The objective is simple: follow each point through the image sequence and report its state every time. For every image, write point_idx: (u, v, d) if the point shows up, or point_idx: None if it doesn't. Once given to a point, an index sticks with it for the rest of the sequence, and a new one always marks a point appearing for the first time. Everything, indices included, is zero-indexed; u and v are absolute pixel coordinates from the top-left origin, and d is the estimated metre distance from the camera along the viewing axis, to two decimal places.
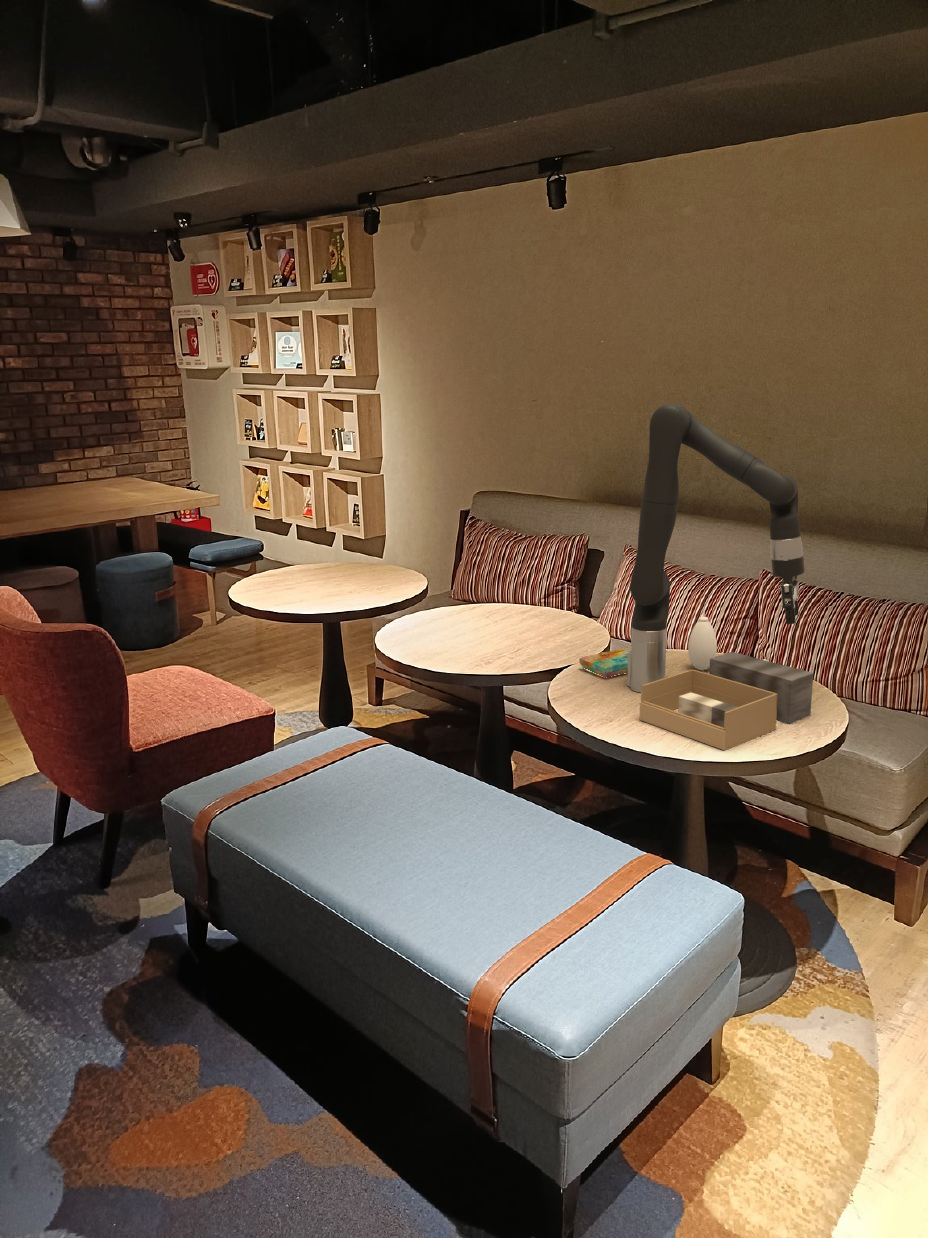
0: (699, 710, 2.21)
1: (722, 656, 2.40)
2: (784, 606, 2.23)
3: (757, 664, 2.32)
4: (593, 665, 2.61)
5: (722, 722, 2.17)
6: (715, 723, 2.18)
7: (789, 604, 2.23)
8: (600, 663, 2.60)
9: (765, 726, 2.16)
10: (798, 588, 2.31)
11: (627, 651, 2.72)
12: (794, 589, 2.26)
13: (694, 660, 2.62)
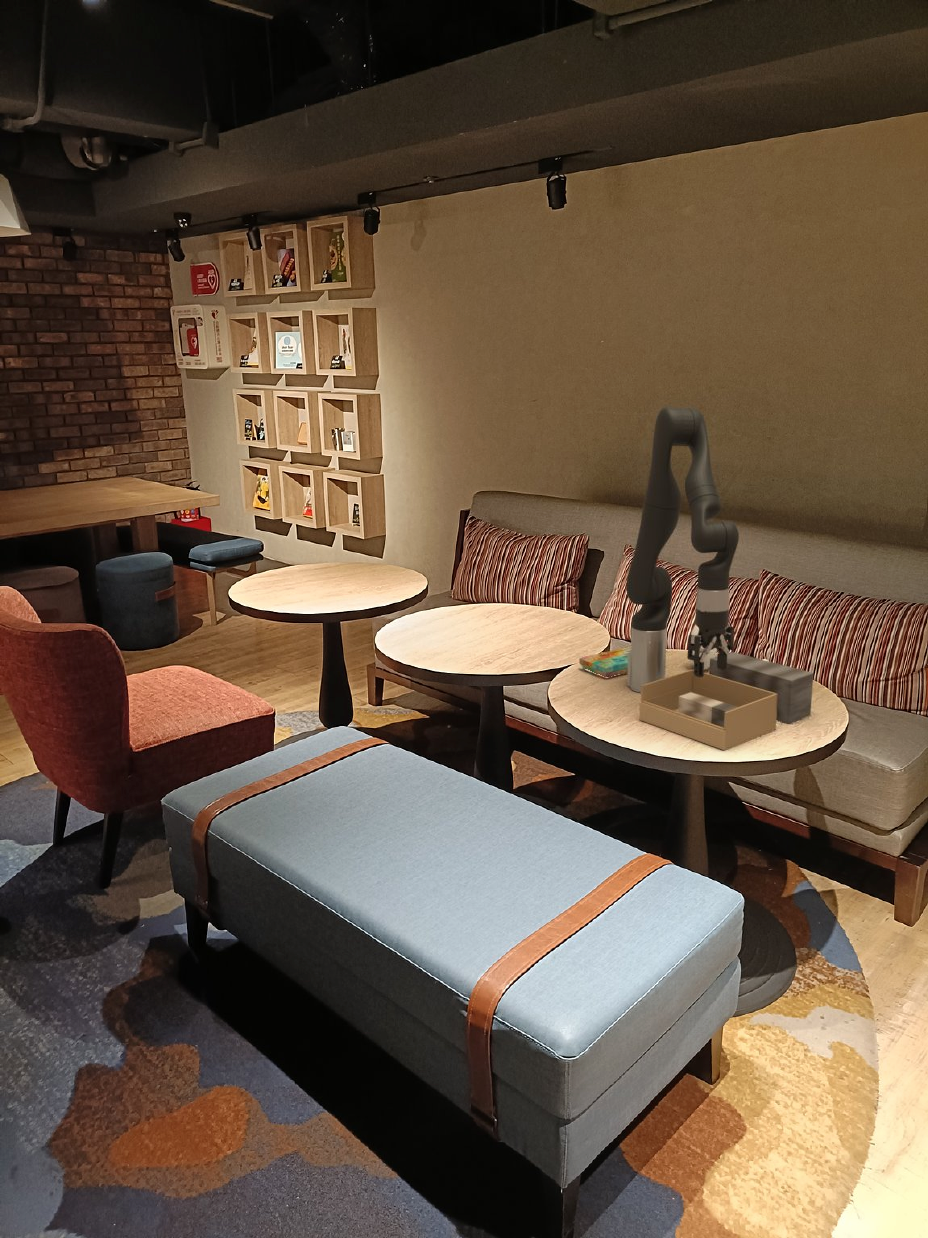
0: (699, 710, 2.21)
1: None
2: (688, 657, 2.15)
3: (757, 664, 2.32)
4: (593, 665, 2.61)
5: (722, 722, 2.17)
6: (715, 723, 2.18)
7: (693, 656, 2.14)
8: (600, 663, 2.60)
9: (765, 726, 2.16)
10: (725, 642, 2.19)
11: (626, 651, 2.72)
12: (708, 642, 2.15)
13: None
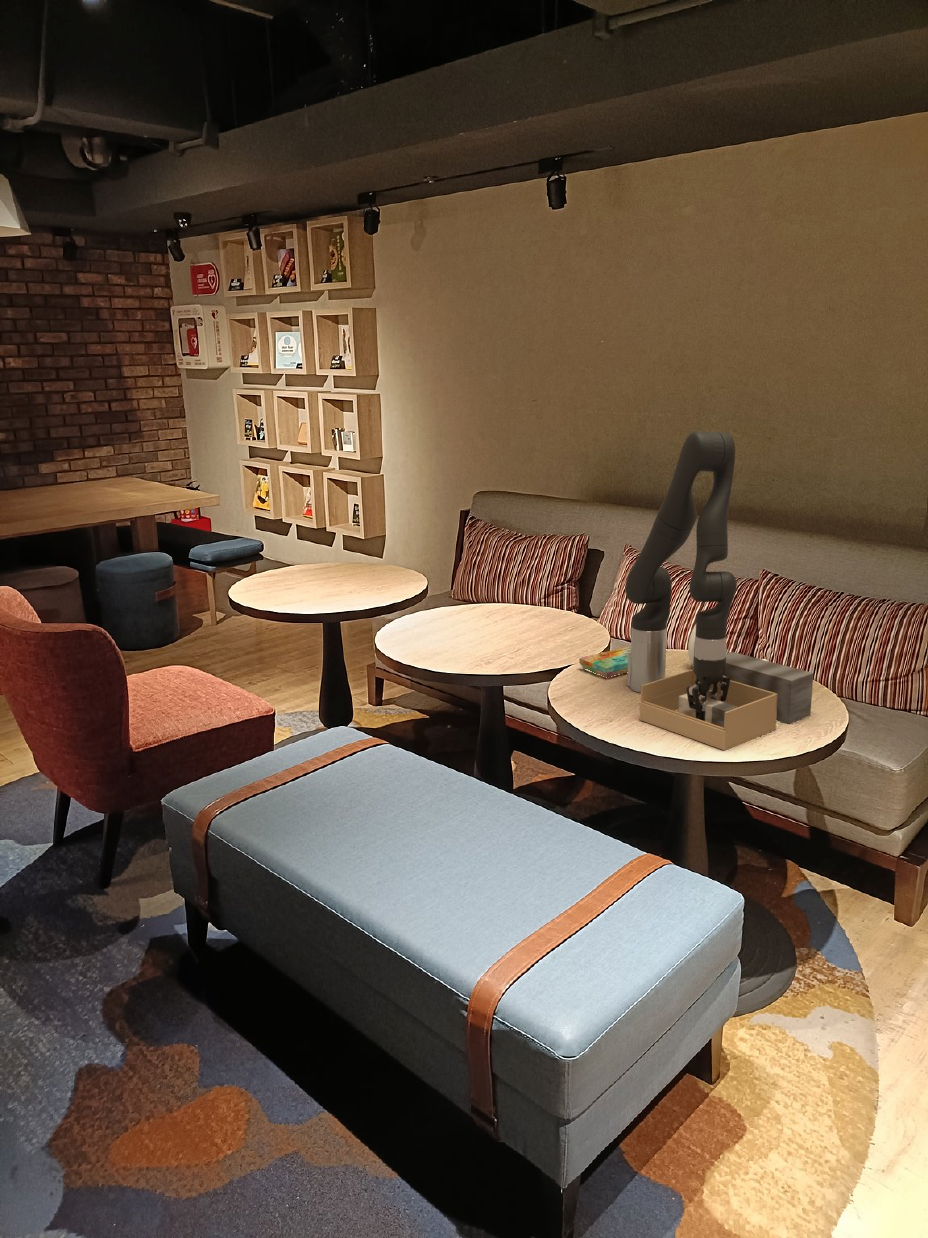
0: None
1: None
2: (690, 707, 2.19)
3: (757, 664, 2.32)
4: (594, 665, 2.61)
5: (722, 722, 2.17)
6: (715, 723, 2.18)
7: (695, 706, 2.19)
8: (601, 663, 2.60)
9: (765, 726, 2.16)
10: (720, 692, 2.21)
11: (626, 651, 2.72)
12: (706, 691, 2.19)
13: None
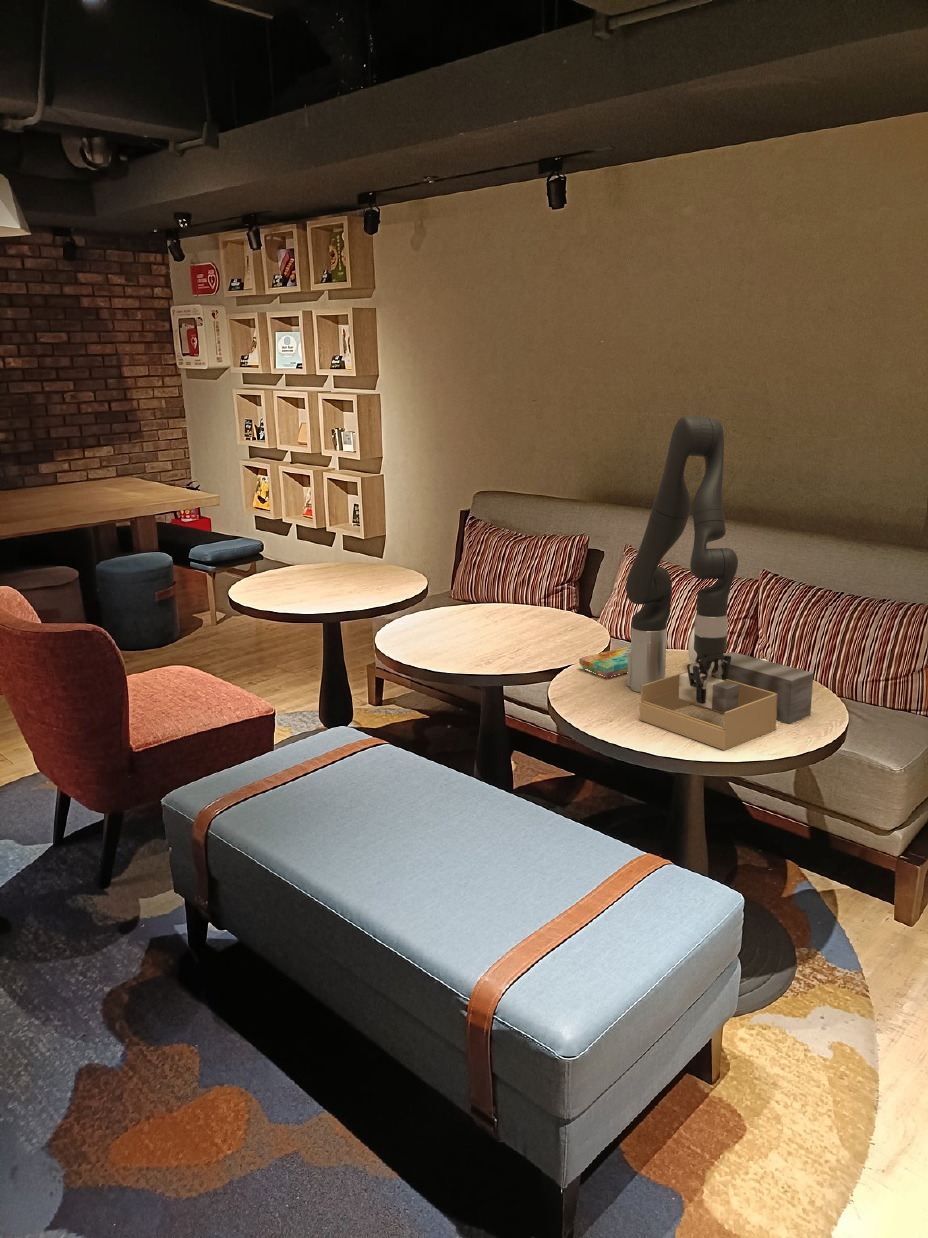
0: None
1: None
2: (691, 685, 2.18)
3: (757, 664, 2.32)
4: (594, 665, 2.61)
5: (723, 700, 2.15)
6: (716, 701, 2.17)
7: (696, 684, 2.17)
8: (601, 663, 2.60)
9: (765, 726, 2.16)
10: (721, 670, 2.20)
11: (625, 651, 2.72)
12: (707, 669, 2.17)
13: (694, 660, 2.62)
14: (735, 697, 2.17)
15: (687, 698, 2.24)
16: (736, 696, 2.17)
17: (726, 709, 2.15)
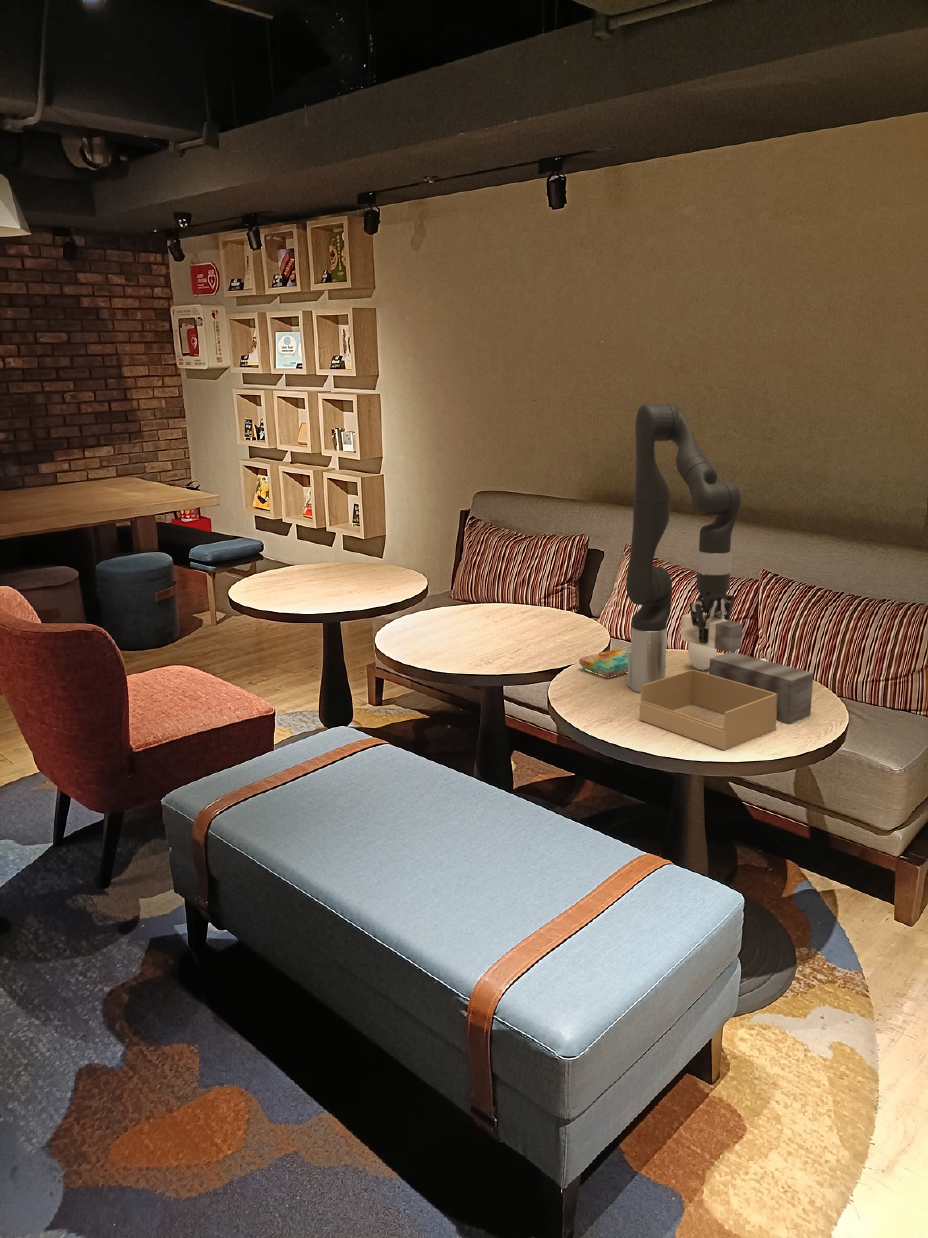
0: None
1: (722, 656, 2.40)
2: (693, 624, 2.14)
3: (757, 664, 2.32)
4: (594, 665, 2.61)
5: (726, 638, 2.11)
6: (719, 640, 2.13)
7: (698, 622, 2.13)
8: (601, 663, 2.60)
9: (765, 726, 2.16)
10: (724, 609, 2.16)
11: (625, 650, 2.72)
12: (710, 608, 2.13)
13: (694, 660, 2.62)
14: (738, 636, 2.13)
15: (689, 639, 2.20)
16: (739, 635, 2.13)
17: (729, 648, 2.11)
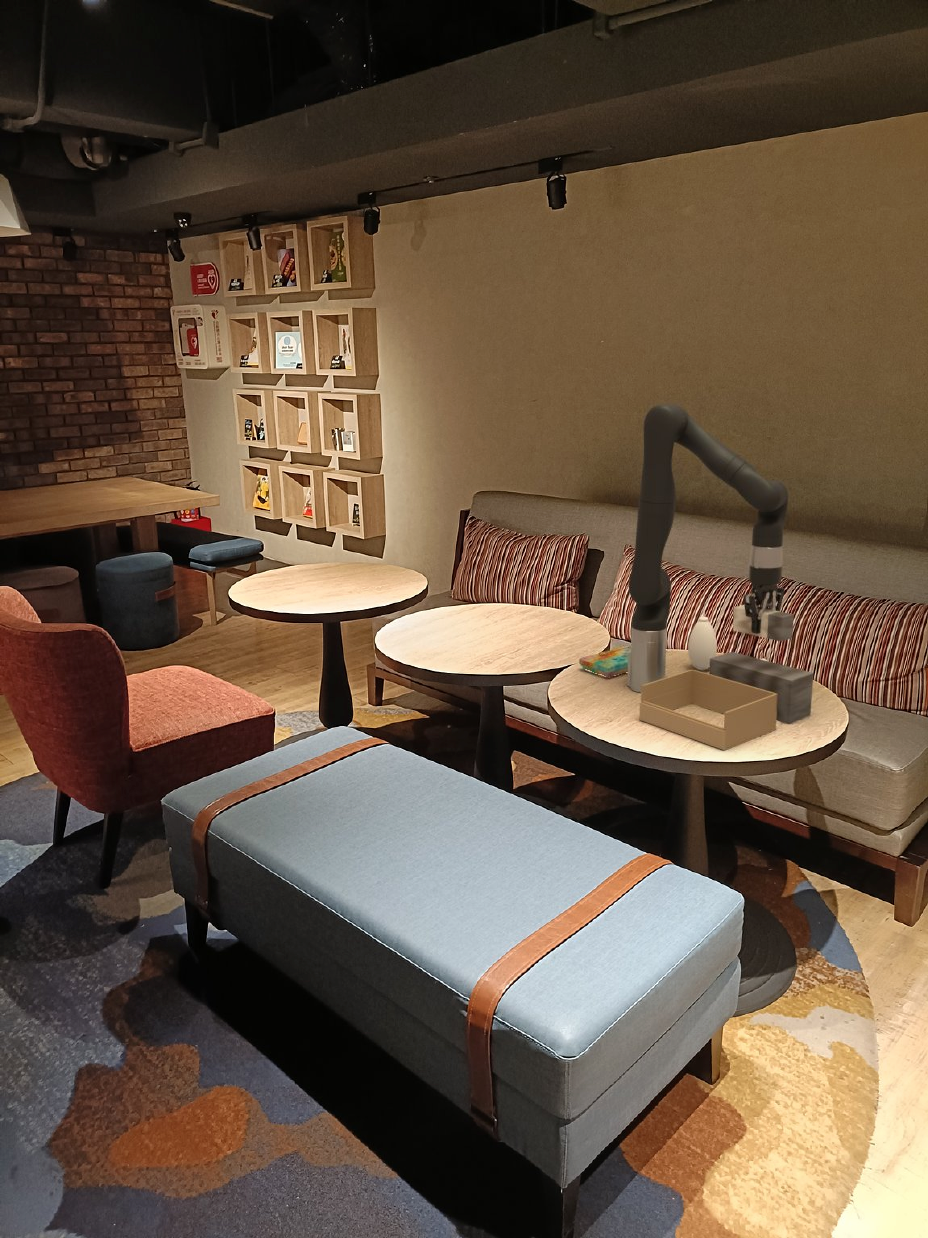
0: None
1: (722, 656, 2.40)
2: (747, 615, 2.26)
3: (757, 664, 2.32)
4: (595, 665, 2.61)
5: (779, 628, 2.23)
6: (771, 630, 2.24)
7: (751, 613, 2.25)
8: (602, 663, 2.60)
9: (765, 726, 2.16)
10: (775, 601, 2.27)
11: (624, 650, 2.73)
12: (763, 599, 2.25)
13: (694, 660, 2.62)
14: (790, 626, 2.24)
15: (742, 629, 2.31)
16: (791, 625, 2.24)
17: (782, 637, 2.23)
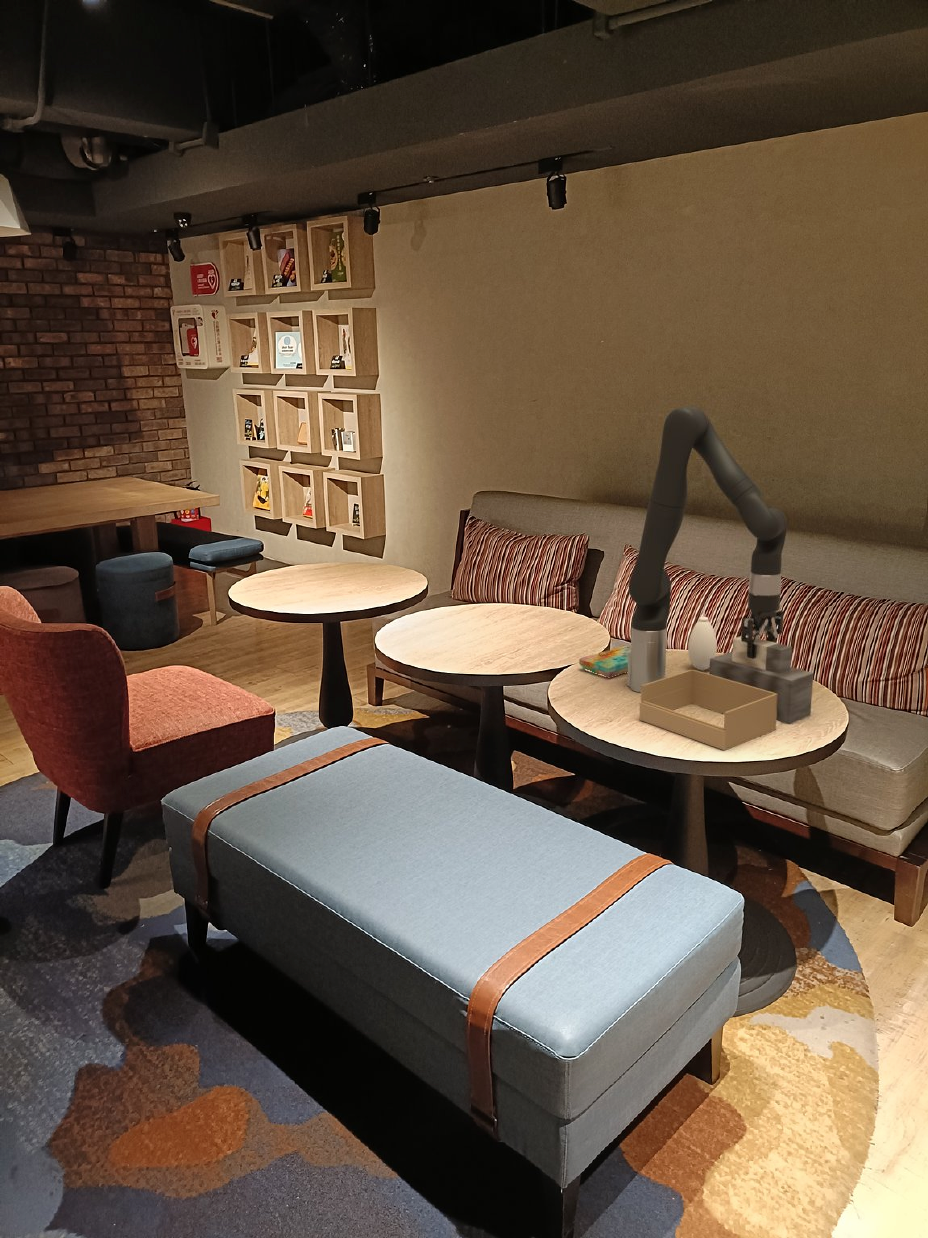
0: None
1: (722, 656, 2.40)
2: (742, 640, 2.26)
3: None
4: (595, 665, 2.61)
5: (777, 661, 2.25)
6: (770, 662, 2.26)
7: (747, 639, 2.25)
8: (602, 663, 2.60)
9: (765, 726, 2.16)
10: (775, 626, 2.29)
11: (623, 650, 2.73)
12: (761, 625, 2.26)
13: (694, 660, 2.62)
14: (788, 659, 2.26)
15: (740, 661, 2.33)
16: (789, 657, 2.26)
17: (780, 670, 2.25)
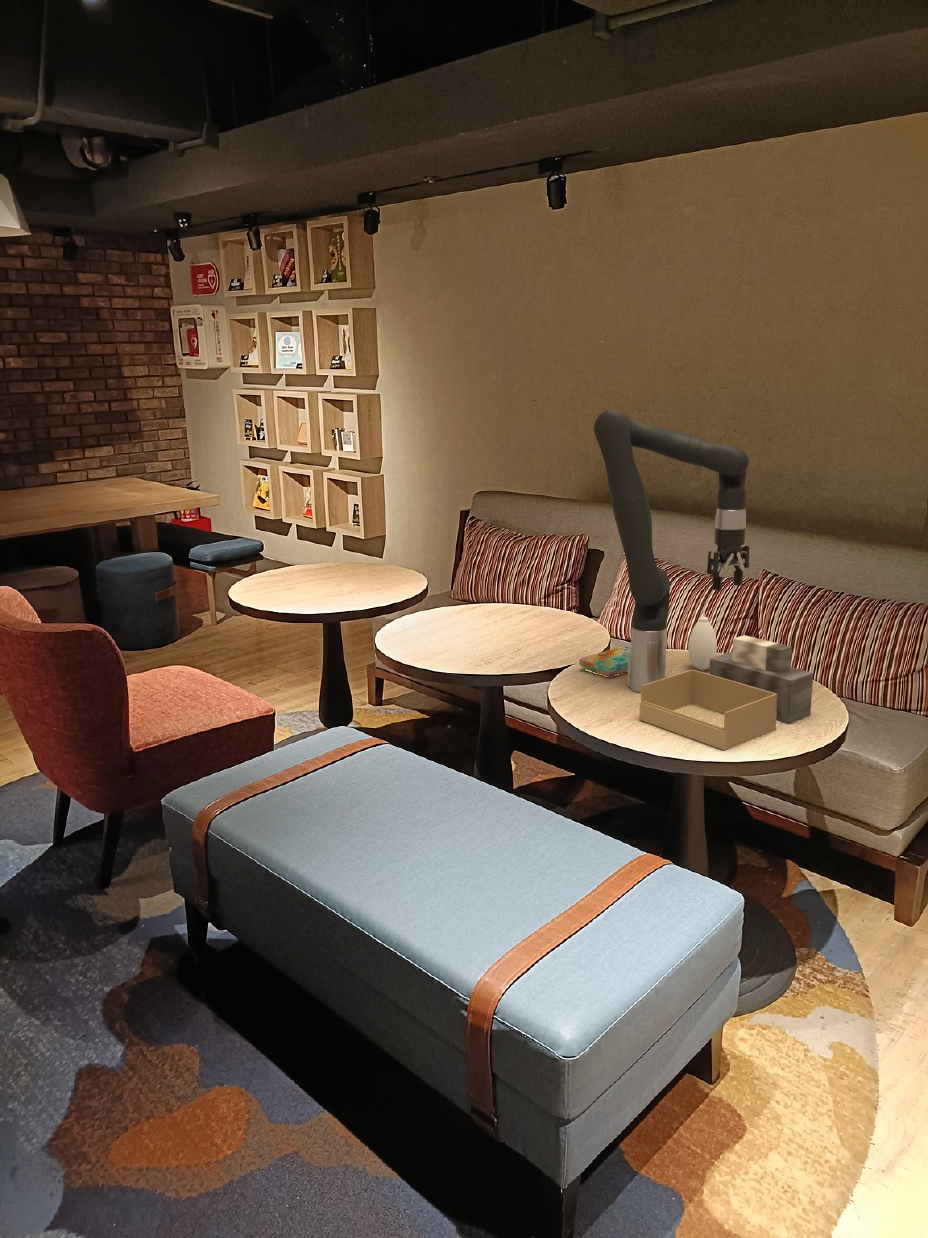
0: (754, 651, 2.30)
1: (722, 656, 2.40)
2: (708, 572, 2.36)
3: None
4: (595, 665, 2.61)
5: (777, 661, 2.25)
6: (770, 662, 2.26)
7: (712, 571, 2.35)
8: (603, 663, 2.60)
9: (765, 726, 2.16)
10: (741, 560, 2.39)
11: (622, 650, 2.73)
12: (726, 559, 2.36)
13: (694, 660, 2.62)
14: (788, 659, 2.26)
15: (740, 661, 2.33)
16: (789, 657, 2.26)
17: (780, 670, 2.25)
